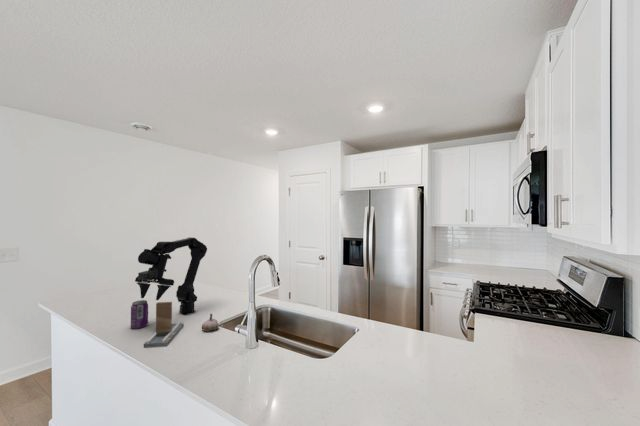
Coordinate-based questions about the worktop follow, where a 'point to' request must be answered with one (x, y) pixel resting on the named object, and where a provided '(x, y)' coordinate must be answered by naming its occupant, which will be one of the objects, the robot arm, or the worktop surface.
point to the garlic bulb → (210, 324)
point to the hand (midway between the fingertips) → (149, 299)
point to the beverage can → (139, 314)
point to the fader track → (164, 337)
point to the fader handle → (163, 318)
